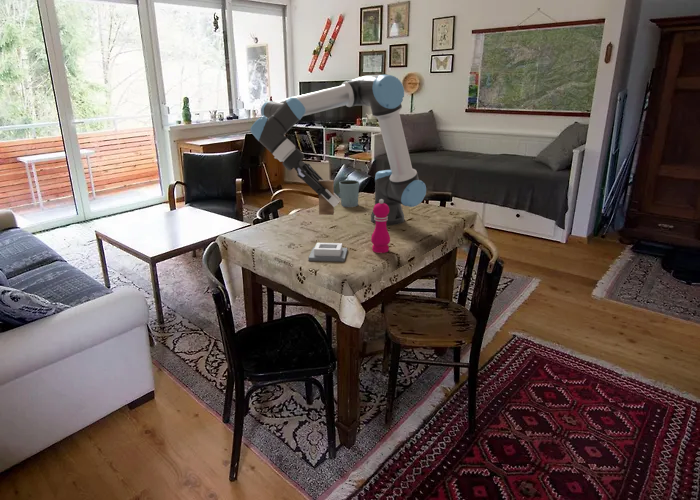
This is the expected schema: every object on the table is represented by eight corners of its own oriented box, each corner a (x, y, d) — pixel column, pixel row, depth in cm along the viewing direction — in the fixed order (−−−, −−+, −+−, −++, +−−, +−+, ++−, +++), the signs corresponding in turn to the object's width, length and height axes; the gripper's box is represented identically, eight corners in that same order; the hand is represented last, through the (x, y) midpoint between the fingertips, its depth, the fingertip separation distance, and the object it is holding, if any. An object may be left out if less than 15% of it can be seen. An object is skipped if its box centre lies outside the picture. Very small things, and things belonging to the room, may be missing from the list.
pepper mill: (369, 247, 180) (370, 196, 173) (388, 246, 181) (389, 196, 174) (372, 254, 173) (372, 201, 166) (391, 253, 174) (392, 201, 167)
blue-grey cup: (363, 204, 240) (363, 181, 235) (350, 208, 233) (350, 185, 228) (348, 201, 246) (348, 179, 242) (335, 205, 239) (334, 182, 235)
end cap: (347, 250, 177) (347, 241, 176) (344, 261, 167) (344, 251, 165) (313, 249, 178) (313, 240, 177) (308, 260, 168) (308, 251, 166)
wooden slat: (334, 212, 167) (333, 179, 163) (333, 214, 165) (332, 181, 161) (320, 212, 168) (319, 179, 164) (319, 214, 166) (318, 181, 161)
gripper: (286, 159, 169) (332, 204, 173) (276, 167, 154) (327, 216, 159) (300, 144, 167) (347, 191, 171) (291, 151, 152) (342, 201, 156)
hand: (337, 203), depth 165 cm, fingers closed on wooden slat, 2 cm apart
